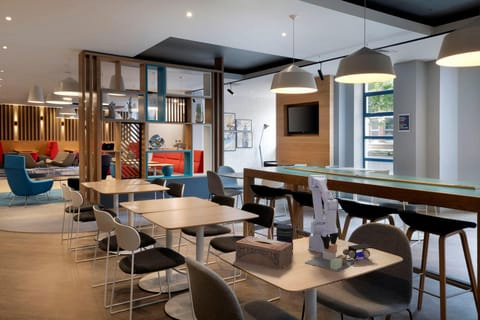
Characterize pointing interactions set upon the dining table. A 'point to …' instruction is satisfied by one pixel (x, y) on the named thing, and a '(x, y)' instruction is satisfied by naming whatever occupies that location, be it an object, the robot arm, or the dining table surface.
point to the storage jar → (285, 233)
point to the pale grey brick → (329, 255)
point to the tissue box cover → (264, 252)
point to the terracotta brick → (331, 248)
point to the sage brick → (336, 263)
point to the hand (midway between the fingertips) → (329, 247)
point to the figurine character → (353, 254)
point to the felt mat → (327, 263)
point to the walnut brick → (343, 259)
